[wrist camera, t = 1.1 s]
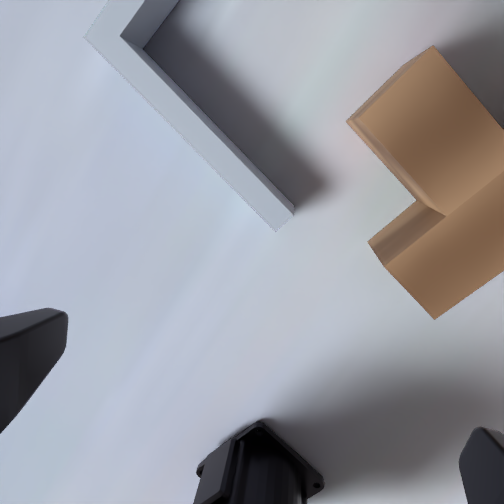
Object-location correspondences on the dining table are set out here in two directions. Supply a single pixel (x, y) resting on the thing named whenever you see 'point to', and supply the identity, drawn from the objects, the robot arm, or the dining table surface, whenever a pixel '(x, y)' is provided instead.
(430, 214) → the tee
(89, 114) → the dining table surface
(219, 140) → the white angled frame
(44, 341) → the robot arm
